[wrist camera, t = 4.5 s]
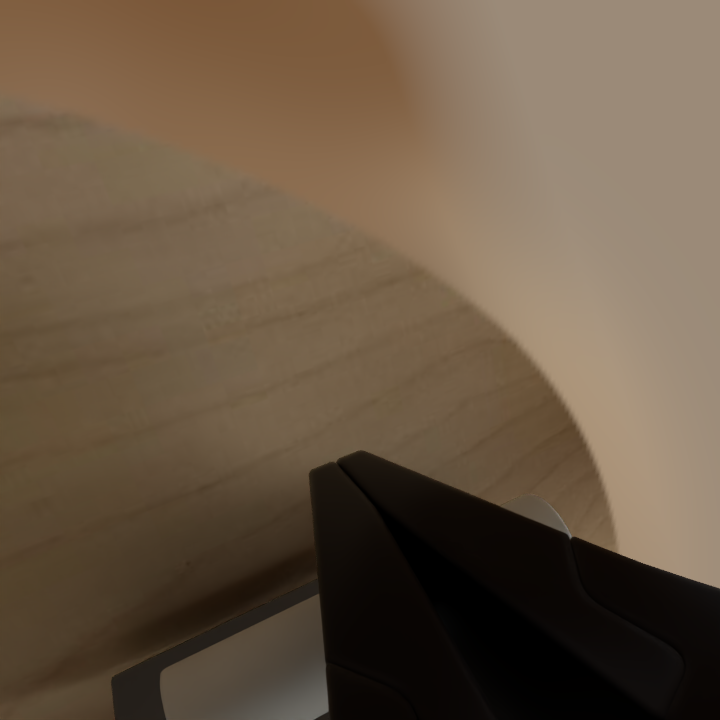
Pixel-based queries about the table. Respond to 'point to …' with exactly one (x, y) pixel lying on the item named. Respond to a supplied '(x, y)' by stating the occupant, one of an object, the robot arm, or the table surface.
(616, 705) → the robot arm
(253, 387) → the table surface
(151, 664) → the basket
